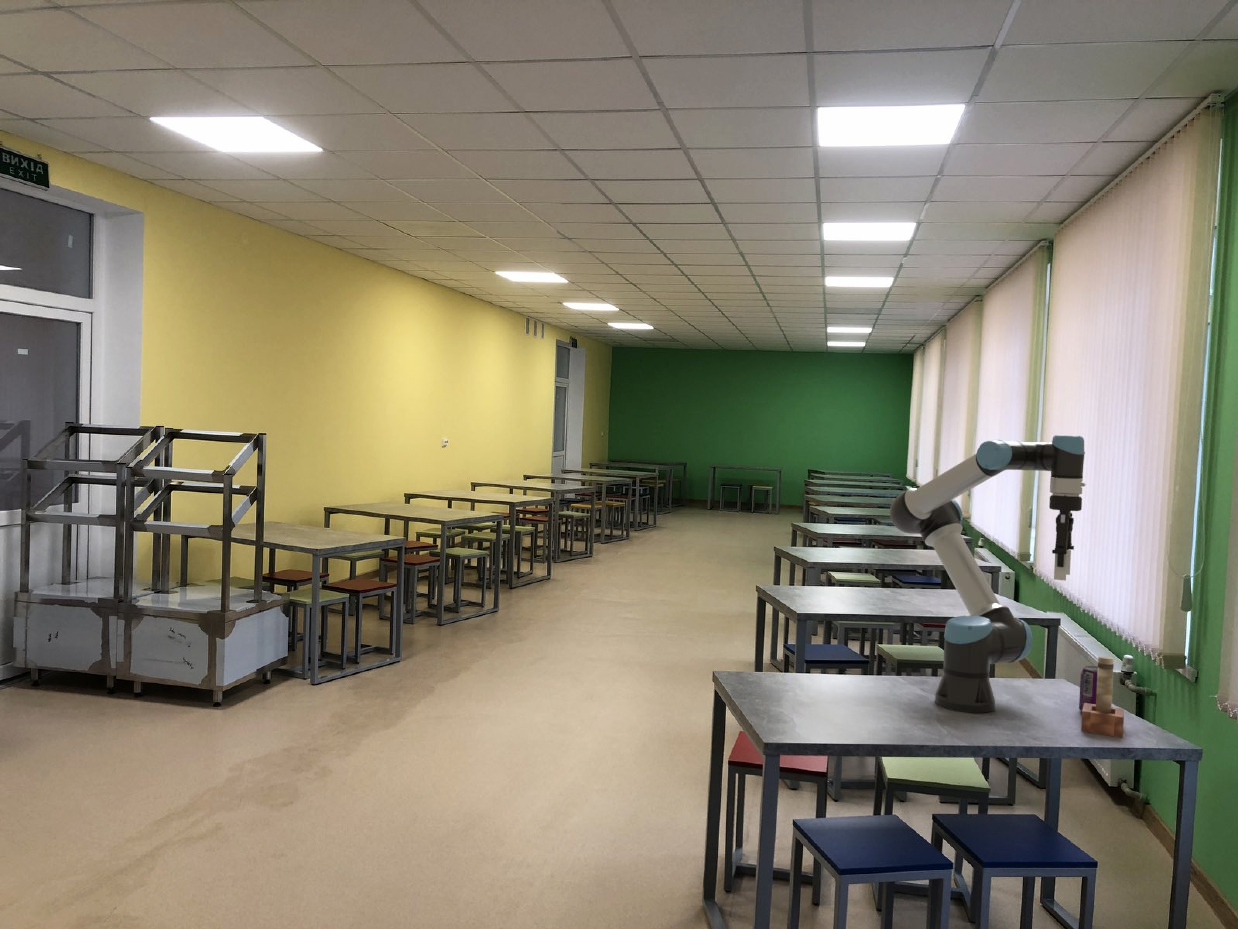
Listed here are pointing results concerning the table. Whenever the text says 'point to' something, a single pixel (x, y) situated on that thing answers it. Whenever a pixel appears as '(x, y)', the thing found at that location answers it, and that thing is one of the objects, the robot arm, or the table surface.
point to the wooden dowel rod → (1104, 684)
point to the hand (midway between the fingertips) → (1062, 577)
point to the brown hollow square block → (1102, 721)
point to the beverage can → (1088, 686)
